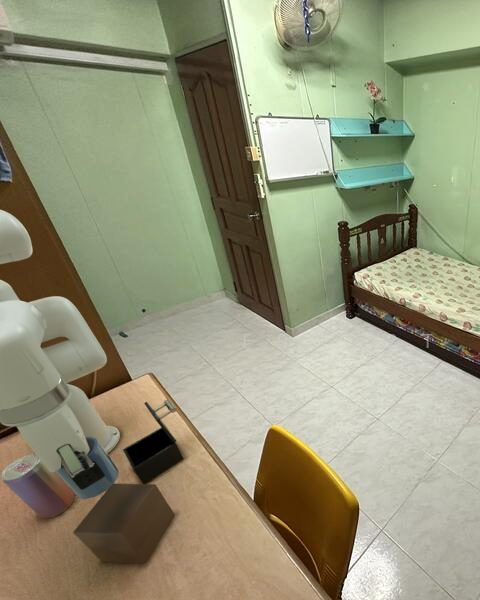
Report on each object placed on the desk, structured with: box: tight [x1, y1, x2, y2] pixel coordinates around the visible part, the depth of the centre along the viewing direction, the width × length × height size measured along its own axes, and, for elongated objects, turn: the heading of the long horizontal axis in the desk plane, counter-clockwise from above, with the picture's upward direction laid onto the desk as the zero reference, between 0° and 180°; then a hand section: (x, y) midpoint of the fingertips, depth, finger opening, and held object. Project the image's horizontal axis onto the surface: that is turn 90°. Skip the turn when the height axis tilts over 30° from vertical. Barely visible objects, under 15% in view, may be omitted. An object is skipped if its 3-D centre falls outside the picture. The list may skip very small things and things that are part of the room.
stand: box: [72, 482, 176, 564], centre depth 64 cm, size 9×9×12 cm
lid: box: [143, 398, 178, 443], centre depth 80 cm, size 10×8×4 cm
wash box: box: [122, 426, 185, 484], centre depth 80 cm, size 9×8×6 cm
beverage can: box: [0, 453, 75, 519], centre depth 68 cm, size 6×6×15 cm
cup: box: [56, 437, 120, 500], centre depth 55 cm, size 6×6×9 cm
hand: (88, 469), depth 55 cm, fingers closed on cup, 6 cm apart
